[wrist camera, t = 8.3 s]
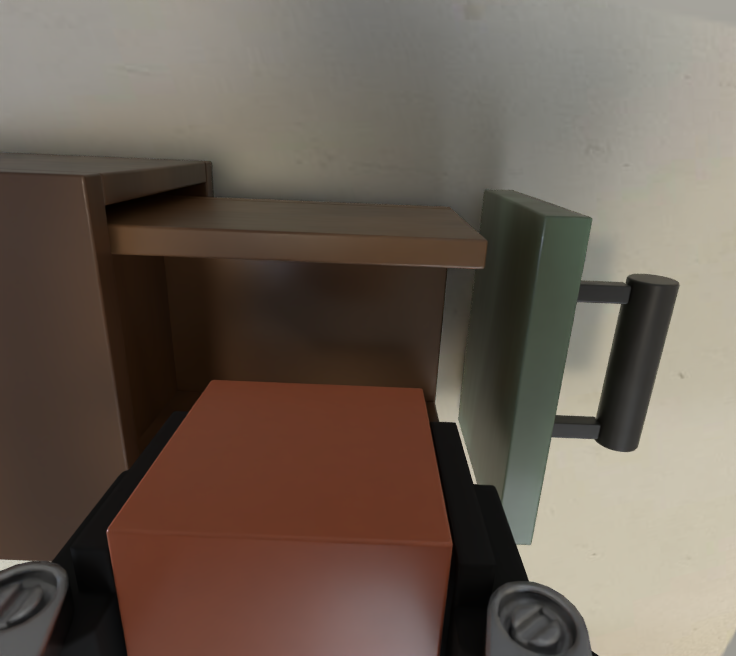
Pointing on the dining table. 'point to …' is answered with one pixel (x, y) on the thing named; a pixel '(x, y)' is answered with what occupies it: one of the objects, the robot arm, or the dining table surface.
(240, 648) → the block
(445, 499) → the robot arm
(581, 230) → the drawer
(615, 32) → the dining table surface
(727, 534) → the dining table surface
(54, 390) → the cabinet
